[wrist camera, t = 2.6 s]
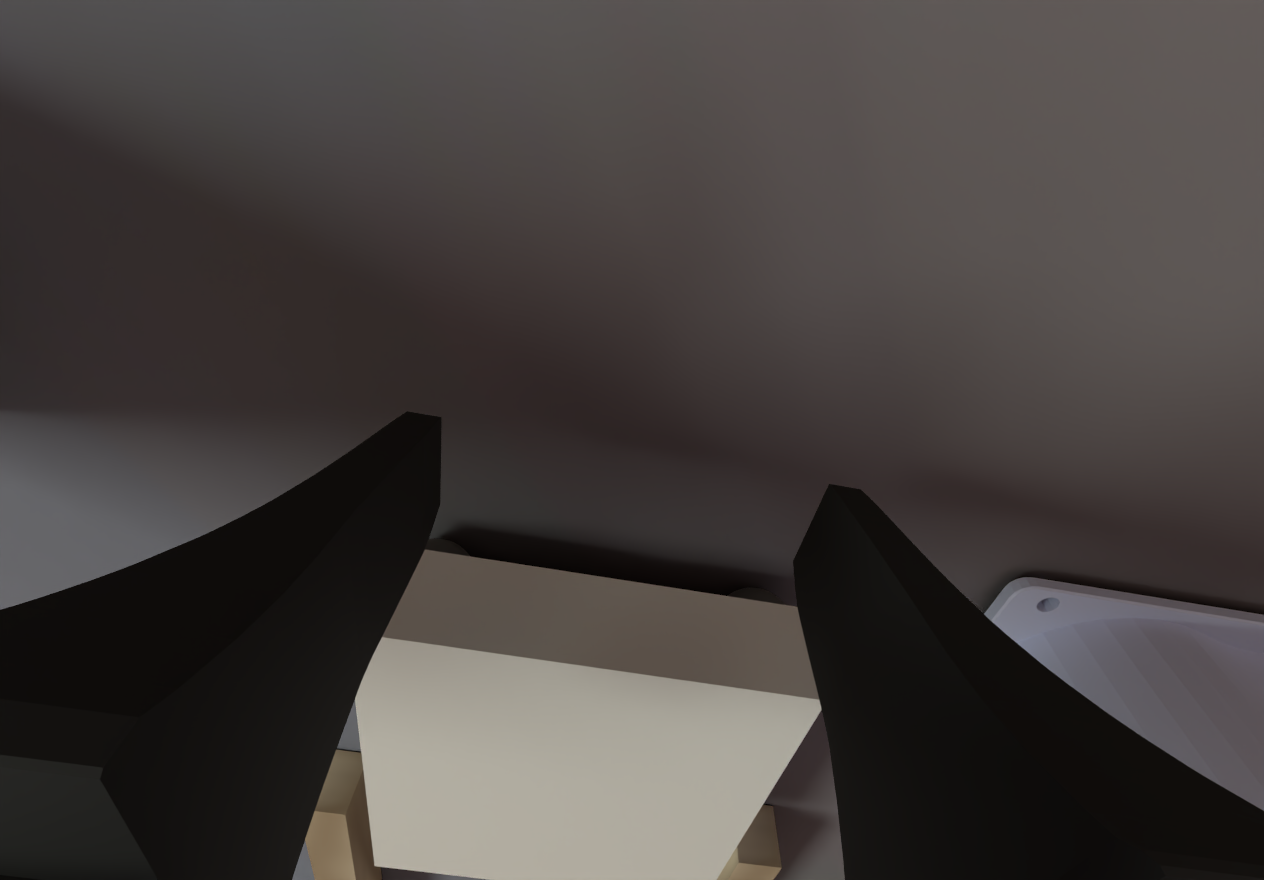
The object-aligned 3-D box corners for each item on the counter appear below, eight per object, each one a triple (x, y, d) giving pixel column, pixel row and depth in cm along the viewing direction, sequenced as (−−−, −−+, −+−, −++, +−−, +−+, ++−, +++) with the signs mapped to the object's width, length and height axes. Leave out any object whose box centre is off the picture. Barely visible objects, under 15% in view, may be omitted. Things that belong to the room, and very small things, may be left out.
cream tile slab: (797, 577, 16) (827, 701, 13) (696, 788, 22) (701, 903, 20) (405, 515, 15) (346, 632, 13) (412, 751, 22) (374, 866, 19)
